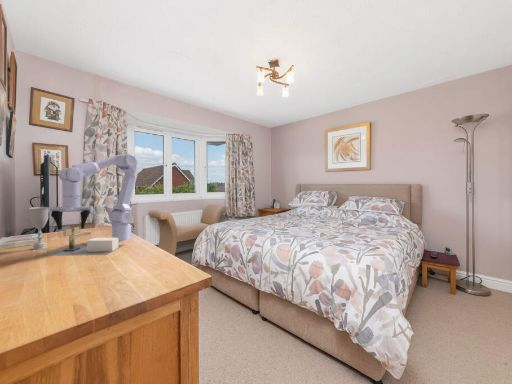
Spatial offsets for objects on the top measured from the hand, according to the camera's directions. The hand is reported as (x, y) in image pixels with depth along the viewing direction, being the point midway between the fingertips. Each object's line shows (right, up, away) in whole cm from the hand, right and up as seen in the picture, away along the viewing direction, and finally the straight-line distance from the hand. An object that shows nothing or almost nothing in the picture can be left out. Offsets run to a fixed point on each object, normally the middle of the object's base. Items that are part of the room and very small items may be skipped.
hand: (71, 228), depth 96 cm
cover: (+12, -9, +1) cm, 15 cm away
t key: (0, -8, +3) cm, 9 cm away
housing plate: (+6, -10, +1) cm, 12 cm away
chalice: (-19, -10, +6) cm, 22 cm away
